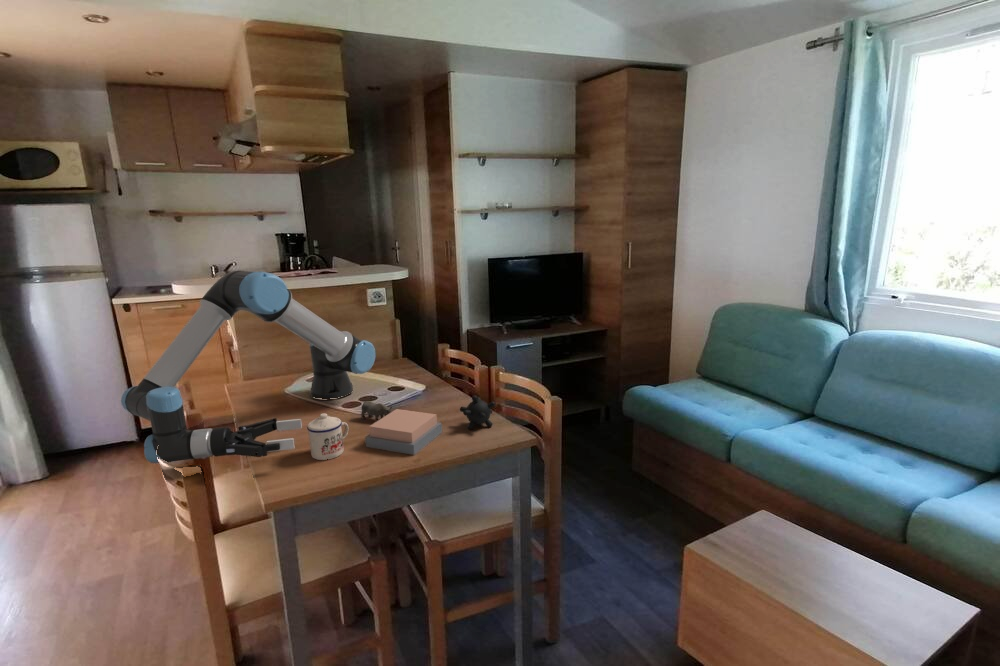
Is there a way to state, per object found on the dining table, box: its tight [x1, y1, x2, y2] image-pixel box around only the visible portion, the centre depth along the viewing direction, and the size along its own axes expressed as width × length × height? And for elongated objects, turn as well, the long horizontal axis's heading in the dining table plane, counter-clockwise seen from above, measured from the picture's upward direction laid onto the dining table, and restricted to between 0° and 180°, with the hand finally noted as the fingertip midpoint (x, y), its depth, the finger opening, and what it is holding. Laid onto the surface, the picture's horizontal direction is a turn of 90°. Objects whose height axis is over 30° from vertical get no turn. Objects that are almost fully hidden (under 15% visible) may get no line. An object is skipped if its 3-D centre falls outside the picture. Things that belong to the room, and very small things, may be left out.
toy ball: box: [459, 394, 496, 431], centre depth 162 cm, size 11×11×12 cm
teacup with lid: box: [306, 412, 350, 461], centre depth 147 cm, size 12×9×12 cm
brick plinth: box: [364, 408, 443, 456], centre depth 154 cm, size 16×16×6 cm
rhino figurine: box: [360, 400, 393, 423], centre depth 169 cm, size 4×14×6 cm, turn 63°
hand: (297, 433), depth 144 cm, fingers open, 13 cm apart
